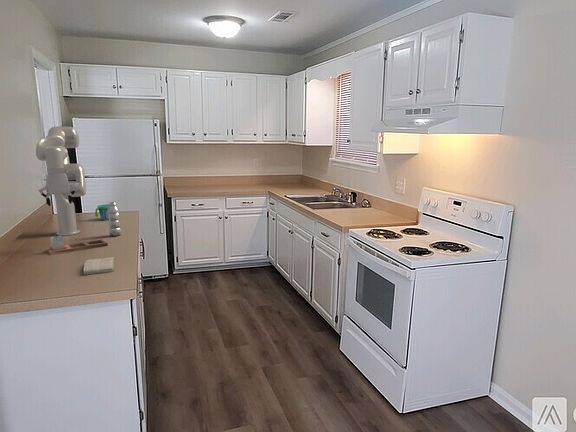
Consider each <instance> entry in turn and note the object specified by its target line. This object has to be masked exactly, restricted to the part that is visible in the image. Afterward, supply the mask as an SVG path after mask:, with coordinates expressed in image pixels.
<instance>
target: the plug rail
mask: <svg viewBox="0 0 576 432" xmlns="http://www.w3.org/2000/svg"><path fill="white" fill-rule="evenodd" d="M107 246H109V244H108V242H107V241H105V240H104V239H101V238H100V239H96V240H94V239H93V240H88V241H82V242H76V243H74V242H73V243H69V244H64V247H65V249H61V250H54V251H52V249H51V246H50V247H46V248H45V251H46V253H48V254H49V255H50V256H54V255H59V254H65V253H66V254H67V253H72V252H78V251H84V250H90V249H96V248H97V249H98V248H103V247H107Z"/></svg>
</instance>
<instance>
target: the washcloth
mask: <svg viewBox="0 0 576 432" xmlns="http://www.w3.org/2000/svg"><path fill="white" fill-rule="evenodd" d="M114 262H115V258H114V257H113V256H111V257H110V256H109V257H104V258H91V259H86V260H85V262H84V265H83V276H85V275H86V276H88V275H95V274H96V275H97V274H105V273H113V272H114V271H115V270H114V264H115V263H114Z"/></svg>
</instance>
